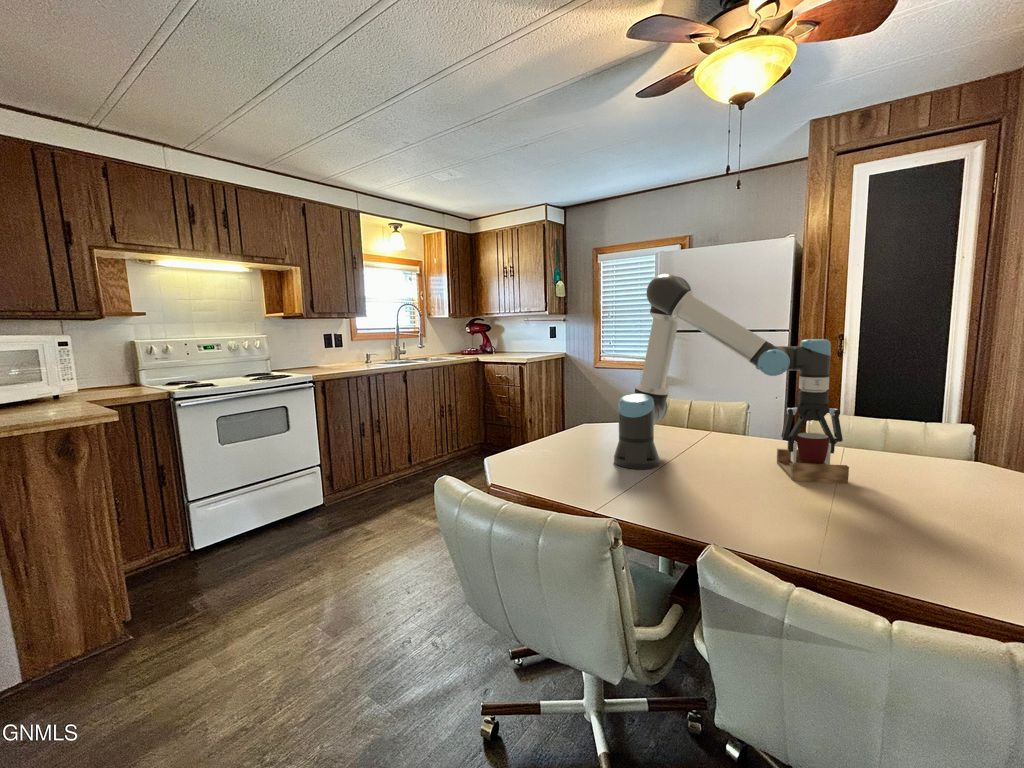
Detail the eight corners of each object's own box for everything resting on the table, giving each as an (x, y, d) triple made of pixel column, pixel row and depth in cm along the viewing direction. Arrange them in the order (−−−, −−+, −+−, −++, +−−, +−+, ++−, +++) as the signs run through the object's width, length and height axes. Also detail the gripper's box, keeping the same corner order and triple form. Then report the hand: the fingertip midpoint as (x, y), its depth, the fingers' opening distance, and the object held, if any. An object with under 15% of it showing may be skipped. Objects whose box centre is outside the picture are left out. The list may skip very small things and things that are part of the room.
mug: (791, 461, 142) (791, 430, 141) (820, 461, 139) (820, 431, 138) (801, 471, 132) (801, 438, 131) (832, 472, 129) (833, 439, 128)
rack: (792, 480, 130) (793, 464, 129) (776, 463, 146) (777, 448, 146) (848, 483, 126) (849, 466, 125) (825, 465, 142) (826, 450, 141)
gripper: (777, 391, 132) (774, 464, 135) (860, 392, 126) (855, 468, 129) (770, 388, 139) (768, 457, 142) (849, 388, 133) (844, 460, 136)
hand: (809, 462), depth 136 cm, fingers open, 8 cm apart
